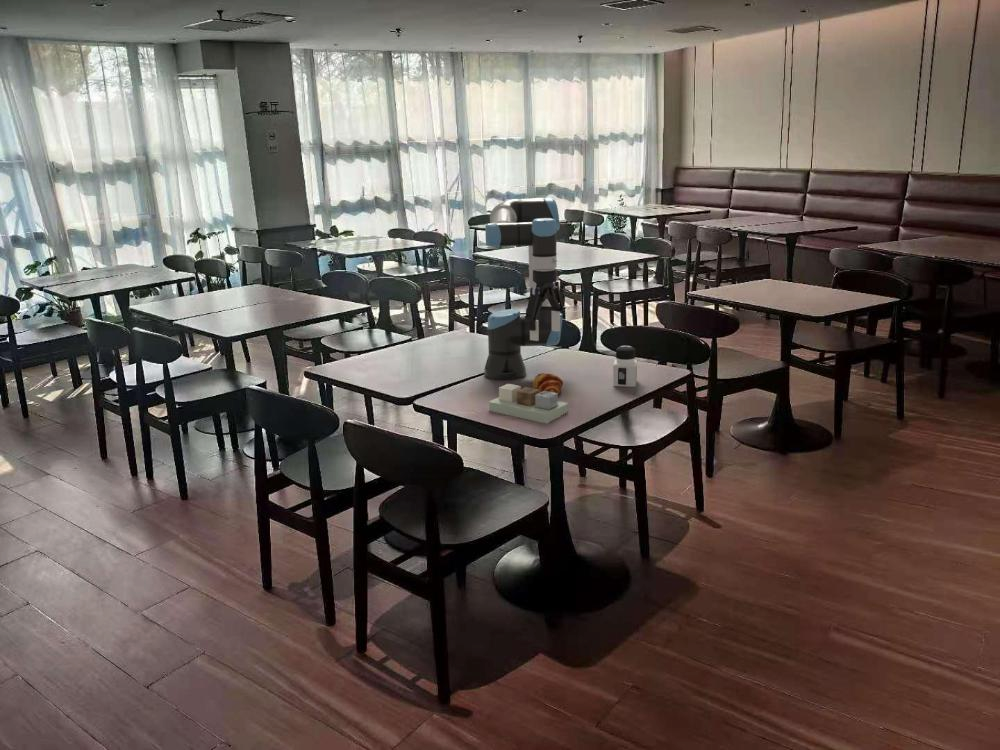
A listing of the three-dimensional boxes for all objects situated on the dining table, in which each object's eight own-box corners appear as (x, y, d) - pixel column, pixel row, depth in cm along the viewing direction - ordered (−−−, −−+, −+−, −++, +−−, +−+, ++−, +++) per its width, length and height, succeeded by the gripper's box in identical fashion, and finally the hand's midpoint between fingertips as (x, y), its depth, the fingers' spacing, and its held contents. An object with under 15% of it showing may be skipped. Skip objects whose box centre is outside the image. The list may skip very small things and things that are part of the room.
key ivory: (499, 402, 258) (498, 387, 257) (508, 398, 262) (507, 383, 261) (511, 405, 256) (511, 390, 254) (520, 400, 259) (520, 386, 258)
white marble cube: (535, 410, 250) (535, 394, 249) (544, 405, 254) (544, 390, 253) (549, 413, 248) (549, 397, 246) (557, 408, 251) (557, 393, 250)
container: (635, 387, 277) (636, 350, 273) (613, 386, 278) (613, 349, 274) (636, 380, 284) (637, 344, 280) (614, 379, 285) (615, 344, 281)
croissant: (534, 392, 286) (523, 373, 283) (559, 377, 285) (548, 358, 283) (545, 410, 265) (533, 390, 263) (571, 394, 265) (560, 374, 263)
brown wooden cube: (517, 406, 254) (516, 391, 253) (526, 402, 258) (525, 387, 257) (530, 409, 252) (530, 393, 250) (539, 404, 255) (538, 389, 254)
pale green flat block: (489, 410, 257) (488, 401, 256) (510, 400, 266) (510, 391, 266) (547, 423, 245) (547, 414, 244) (567, 412, 254) (567, 403, 253)
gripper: (534, 276, 239) (535, 345, 245) (574, 264, 259) (574, 328, 265) (512, 274, 243) (514, 342, 249) (553, 262, 263) (554, 326, 269)
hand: (545, 335), depth 257 cm, fingers open, 13 cm apart
